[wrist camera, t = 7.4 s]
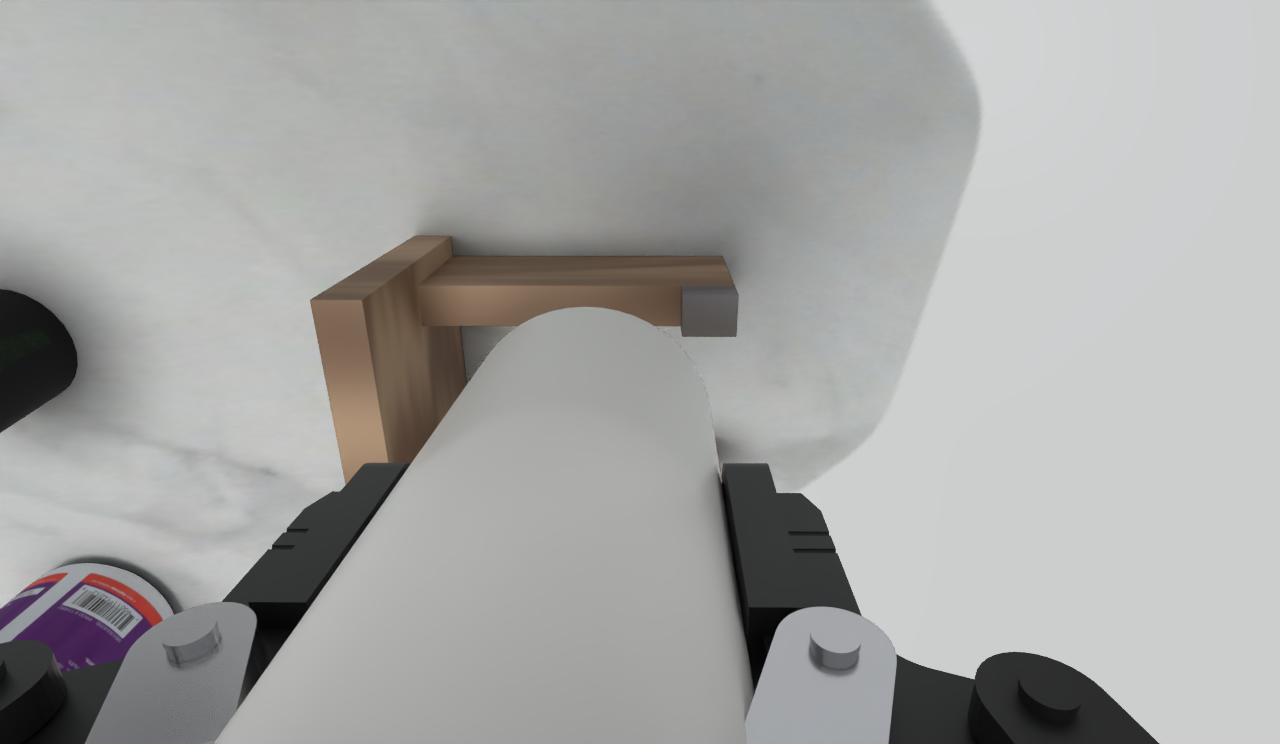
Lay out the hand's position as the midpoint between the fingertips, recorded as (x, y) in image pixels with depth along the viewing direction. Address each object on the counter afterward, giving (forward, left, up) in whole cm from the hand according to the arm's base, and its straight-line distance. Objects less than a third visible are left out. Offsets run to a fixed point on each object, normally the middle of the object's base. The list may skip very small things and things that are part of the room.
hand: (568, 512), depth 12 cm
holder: (+6, -3, -20) cm, 21 cm away
